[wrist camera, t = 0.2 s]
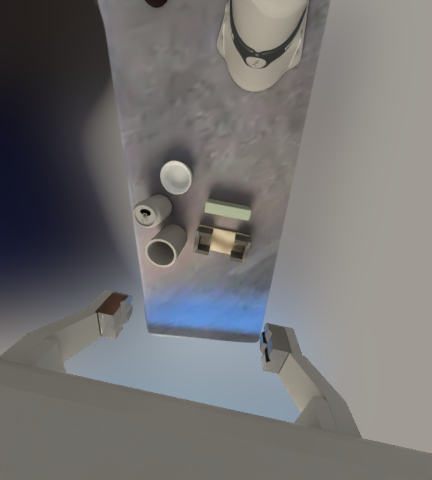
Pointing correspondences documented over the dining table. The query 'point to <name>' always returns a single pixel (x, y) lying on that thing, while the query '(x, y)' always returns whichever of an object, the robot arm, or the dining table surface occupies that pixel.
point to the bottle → (156, 3)
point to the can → (152, 211)
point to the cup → (166, 246)
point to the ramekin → (176, 177)
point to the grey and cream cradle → (222, 242)
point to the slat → (228, 209)
